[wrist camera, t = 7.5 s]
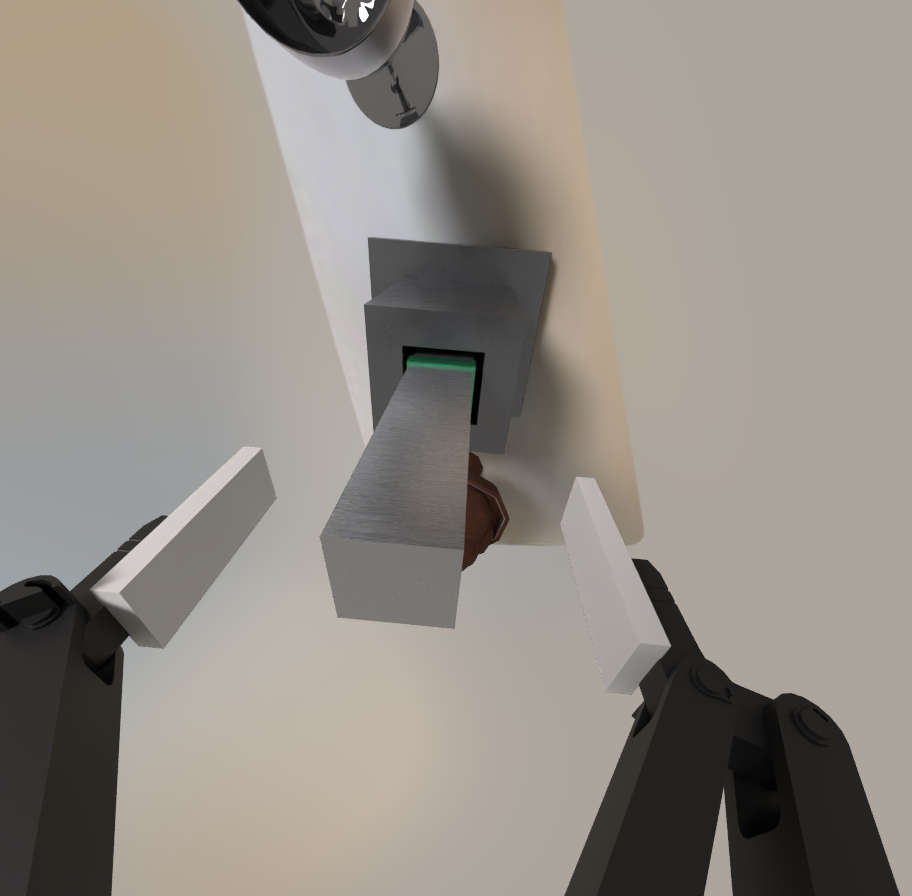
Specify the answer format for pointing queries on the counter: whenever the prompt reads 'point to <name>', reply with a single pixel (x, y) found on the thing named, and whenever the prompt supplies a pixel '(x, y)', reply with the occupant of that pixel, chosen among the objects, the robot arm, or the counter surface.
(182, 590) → the robot arm
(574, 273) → the counter surface
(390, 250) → the stand housing
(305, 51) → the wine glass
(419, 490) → the post
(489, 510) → the ice cream bowl
